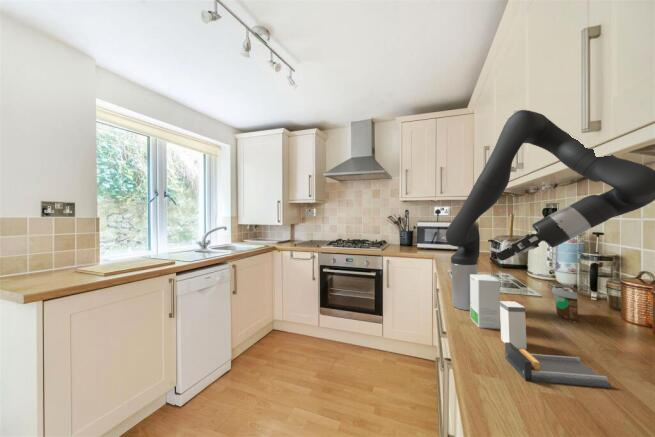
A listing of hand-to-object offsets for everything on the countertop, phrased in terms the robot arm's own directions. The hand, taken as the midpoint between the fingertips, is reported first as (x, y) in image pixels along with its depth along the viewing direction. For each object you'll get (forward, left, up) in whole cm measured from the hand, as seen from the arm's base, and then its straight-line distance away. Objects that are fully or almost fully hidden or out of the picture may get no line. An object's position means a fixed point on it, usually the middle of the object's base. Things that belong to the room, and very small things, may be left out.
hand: (499, 257), depth 75 cm
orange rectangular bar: (+17, -1, -22) cm, 28 cm away
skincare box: (-10, -1, -24) cm, 26 cm away
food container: (-21, +28, -24) cm, 42 cm away
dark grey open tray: (+17, +3, -23) cm, 29 cm away
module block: (+4, +1, -23) cm, 24 cm away
